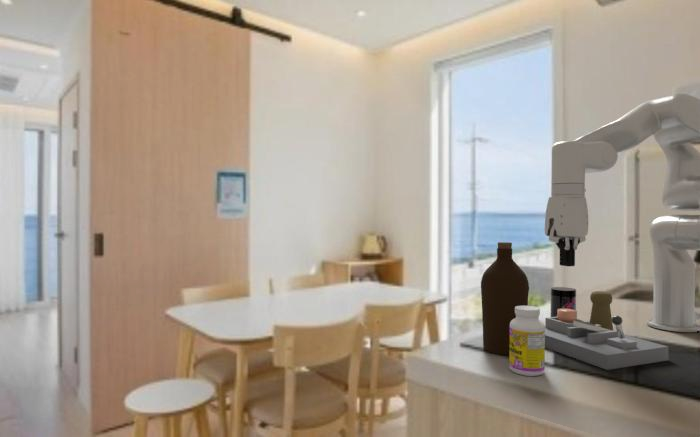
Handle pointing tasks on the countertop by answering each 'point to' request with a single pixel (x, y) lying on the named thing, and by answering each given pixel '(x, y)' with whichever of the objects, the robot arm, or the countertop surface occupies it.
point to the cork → (601, 309)
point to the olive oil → (501, 299)
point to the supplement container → (562, 299)
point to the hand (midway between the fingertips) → (567, 265)
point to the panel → (601, 346)
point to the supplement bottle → (527, 342)
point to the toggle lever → (618, 326)
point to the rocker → (589, 326)
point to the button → (566, 315)
